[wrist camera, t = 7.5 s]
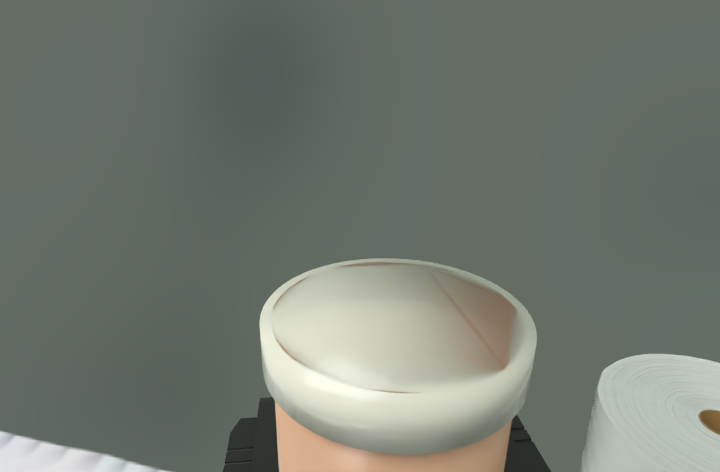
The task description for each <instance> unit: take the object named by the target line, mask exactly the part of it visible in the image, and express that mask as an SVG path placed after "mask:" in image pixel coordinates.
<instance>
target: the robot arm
mask: <svg viewBox="0 0 720 472" xmlns="http://www.w3.org/2000/svg"><path fill="white" fill-rule="evenodd" d="M227 450H228V452H227V454H226V459H225V466H224V470H223V472H279V463H278V446H277V429H276V412H275V400H274V399H273V397H270V398H260V402H259V409H258V417H257V418H242V419H240V420H239V422H238V424H237V425H236V426H235V427H234V429H233V430H232V432H231V434H230V439H229V444H228V449H227ZM504 472H551V471H550V469H549V468H548V466H547V464H546V463H545V461H544V459H543V458H542V456H541V454H540V453H539V451H538V450H537V448H536V446H535V444H534V443H533V442H532V441H531V438H530V436H529V434H528V433H527V431H526V430H524V426H523V425H522V423H521V421H520V419H519V418H518V416H517V415H516V416H515V417H514V418H513V419H512V423H511V429H510V436H509V442H508V448H507V454H506V460H505V466H504Z"/></svg>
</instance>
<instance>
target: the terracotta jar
mask: <svg viewBox="0 0 720 472" xmlns="http://www.w3.org/2000/svg"><path fill="white" fill-rule="evenodd" d="M260 336H261V351H262V364H263V374H264V380H265V383H266V385H267V388H268V390H269V392H270V393H271V395H272V397H273V399H274V400H275V412H276V429H277V446H278V463H279V472H504V466H505V460H506V454H507V448H508V442H509V436H510V429H511V423H512V419H513V418H514V417H515V416H516V415H517V414H518V412H519V411H520V409H521V407H522V406H523V404H524V402H525V399H526V397H527V394H528V390H529V384H530V378H531V372H532V366H533V361H534V355H535V349H536V342H537V333H536V327H535V325H534V322H533V320H532V318H531V316H530V314H529V313H528V312H527V310H526V308H524V306H523V305H522V304H521V303H520V302H519V301H518V300H517V299H516V298H514V297H513V296H512V295H511V294H509V293H508V292H507V291H505V290H503V289H502V288H501V287H499V286H497V285H496V284H494V283H492V282H490V281H488V280H486V279H484V278H481V277H479V276H477V275H474V274H472V273H469V272H466V271H463V270H460V269H456V268H453V267H449V266H445V265H441V264H436V263H430V262H424V261H417V260H407V259H383V258H380V259H363V260H352V261H346V262H340V263H335V264H331V265H327V266H323V267H320V268H316V269H313V270H311V271H308V272H305V273H303V274H301V275H299V276H297V277H295V278H293V279H291V280H290V281H288V282H286V283H285V284H283V285H282V286H281V287H280V288H278V289H277V290H276V291H275V292H274V293H273V294H272V295H271V296H270V297H269V299H268V300H267V302H266V303H265V305H264V307H263V310H262V312H261V316H260Z"/></svg>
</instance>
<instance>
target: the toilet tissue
mask: <svg viewBox="0 0 720 472" xmlns="http://www.w3.org/2000/svg"><path fill="white" fill-rule="evenodd" d="M579 472H720V363H717V362H713V361H710V360H705V359H700V358H694V357H689V356H682V355H671V354H644V355H637V356H631V357H628V358H625V359H622V360H619V361H617V362H615V363H614V364H612V365H610V366H609V367H607V368H606V369H604V370H603V372H602V374H601V376H600V378H599V381H598V384H597V389H596V394H595V402H594V405H593V408H592V415H591V420H590V422H589V429H588V433H587V437H586V443H585V448H584V451H583V455H582V462H581V469H580V471H579Z"/></svg>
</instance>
